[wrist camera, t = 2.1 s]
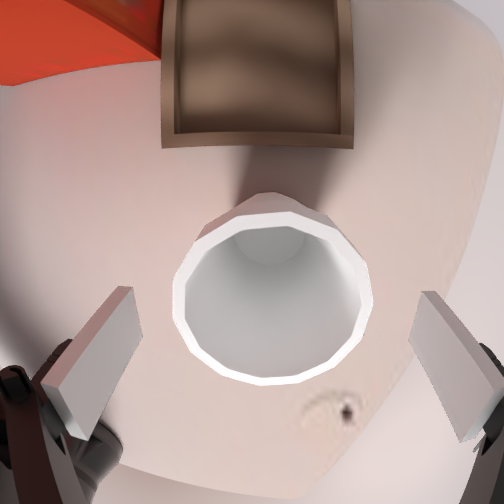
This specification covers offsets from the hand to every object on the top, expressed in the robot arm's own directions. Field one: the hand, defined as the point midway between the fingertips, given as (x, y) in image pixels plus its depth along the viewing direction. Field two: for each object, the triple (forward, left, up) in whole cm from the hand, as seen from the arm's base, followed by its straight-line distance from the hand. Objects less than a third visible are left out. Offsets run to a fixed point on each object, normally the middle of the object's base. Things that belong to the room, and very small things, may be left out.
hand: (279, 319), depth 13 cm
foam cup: (0, 0, -14) cm, 14 cm away
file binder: (+19, +17, -14) cm, 29 cm away
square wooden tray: (+14, +1, -14) cm, 19 cm away
